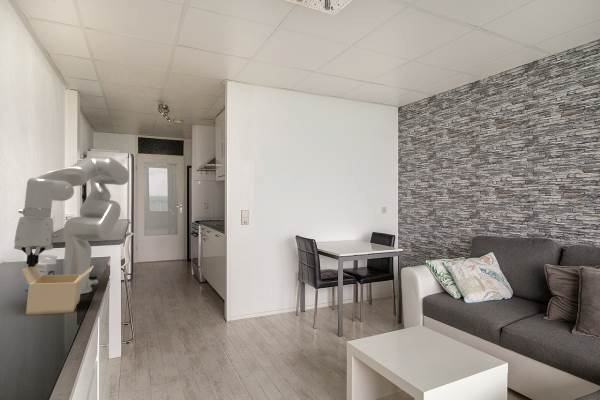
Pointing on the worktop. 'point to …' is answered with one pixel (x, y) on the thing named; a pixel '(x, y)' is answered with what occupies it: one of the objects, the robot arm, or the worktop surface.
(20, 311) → the worktop surface
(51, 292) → the carton
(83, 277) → the flap
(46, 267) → the ink box
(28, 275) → the flap
